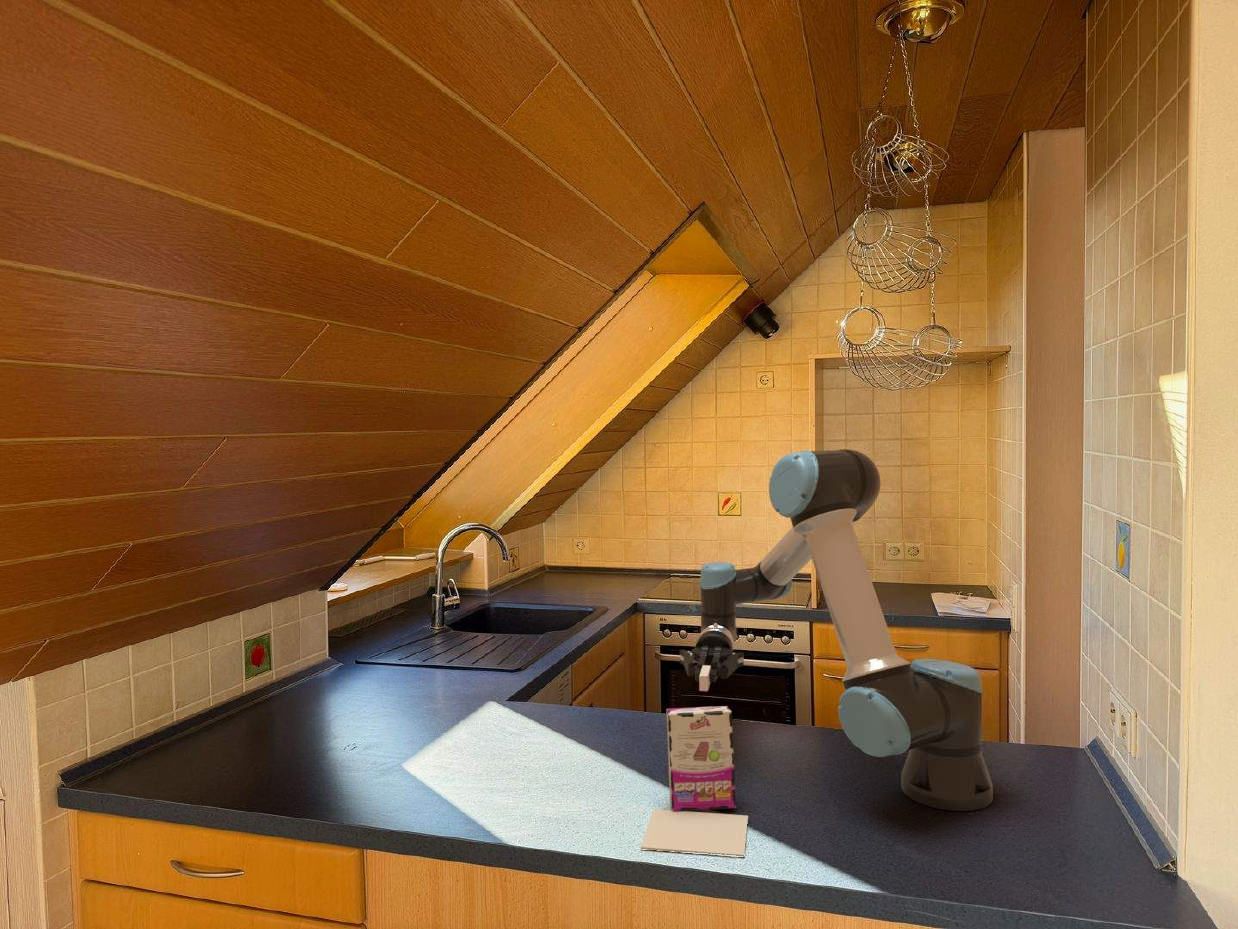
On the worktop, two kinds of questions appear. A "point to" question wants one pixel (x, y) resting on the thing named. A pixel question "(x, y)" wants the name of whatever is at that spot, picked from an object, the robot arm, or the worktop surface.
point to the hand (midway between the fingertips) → (703, 683)
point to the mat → (696, 832)
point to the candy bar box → (701, 758)
